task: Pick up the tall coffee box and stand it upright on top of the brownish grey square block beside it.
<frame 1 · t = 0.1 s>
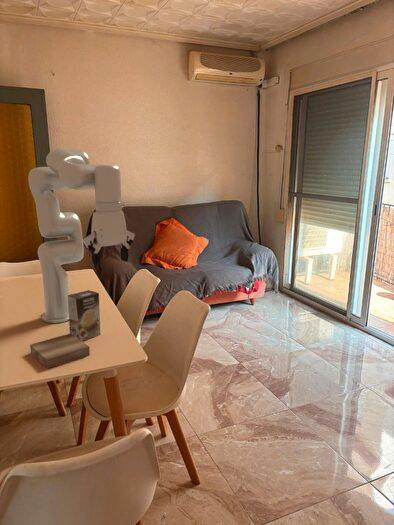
hand: (111, 263, 122), 31 cm above the table, tool pointing down, fingers open, 9 cm apart
coffee box: (85, 336, 145), on the table
brownish grey square block: (60, 354, 130), on the table
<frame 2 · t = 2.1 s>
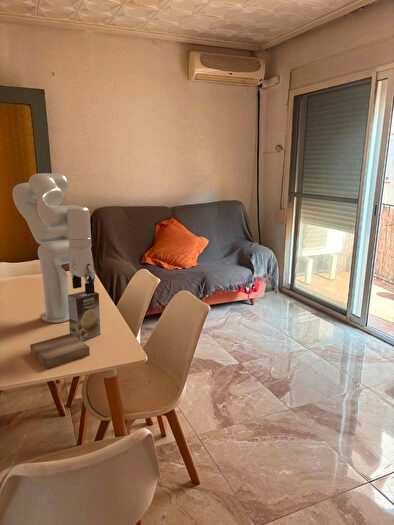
hand: (83, 290, 140), 17 cm above the table, tool pointing down, fingers open, 9 cm apart
nothing on the table moved.
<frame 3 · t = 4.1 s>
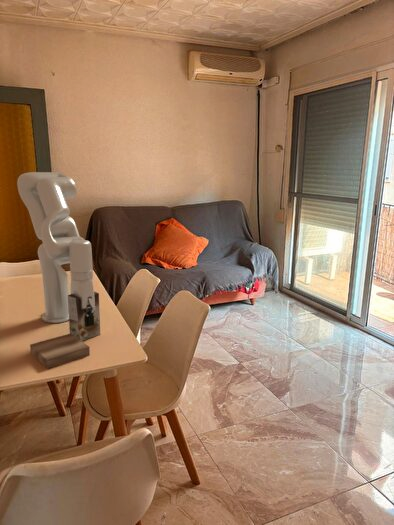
hand: (84, 322, 143), 5 cm above the table, tool pointing down, fingers closed on coffee box, 6 cm apart
coffee box: (85, 336, 145), on the table, touching gripper
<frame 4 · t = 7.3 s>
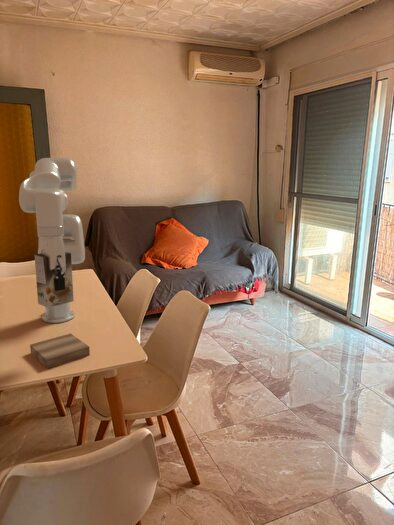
hand: (55, 286, 125), 23 cm above the table, tool pointing down, fingers closed on coffee box, 6 cm apart
coffee box: (56, 303, 126), point 18 cm above the table, touching gripper
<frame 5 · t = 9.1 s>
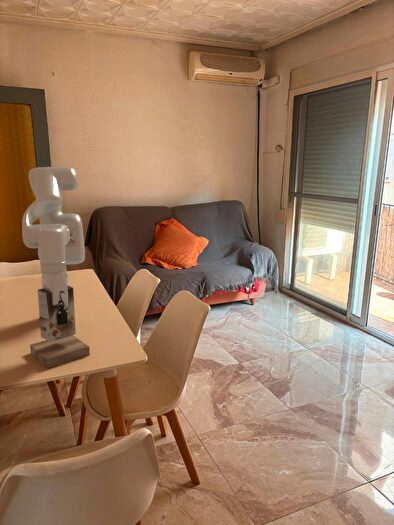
hand: (57, 320, 127), 12 cm above the table, tool pointing down, fingers closed on coffee box, 6 cm apart
coffee box: (58, 336, 129), point 6 cm above the table, touching gripper
when the fingers open (10 cm above the table, at t = 10.6 s): coffee box drops 1 cm, resting on brownish grey square block.
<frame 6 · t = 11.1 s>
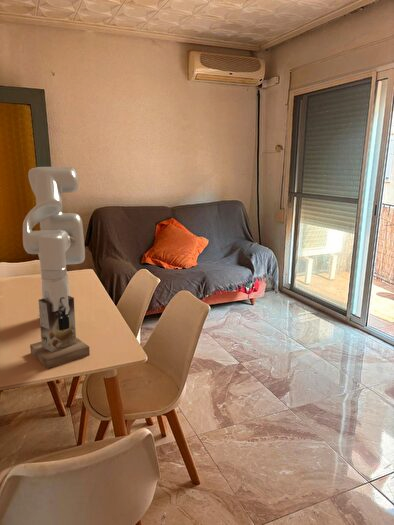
hand: (57, 324, 128), 10 cm above the table, tool pointing down, fingers open, 9 cm apart
coffee box: (59, 345, 130), point 3 cm above the table, touching brownish grey square block
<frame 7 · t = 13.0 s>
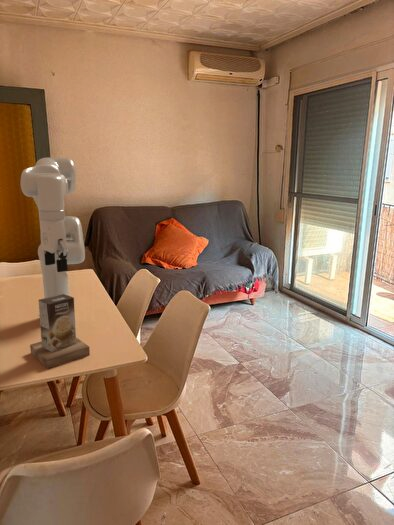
hand: (56, 267, 129), 28 cm above the table, tool pointing down, fingers open, 9 cm apart
nothing on the table moved.
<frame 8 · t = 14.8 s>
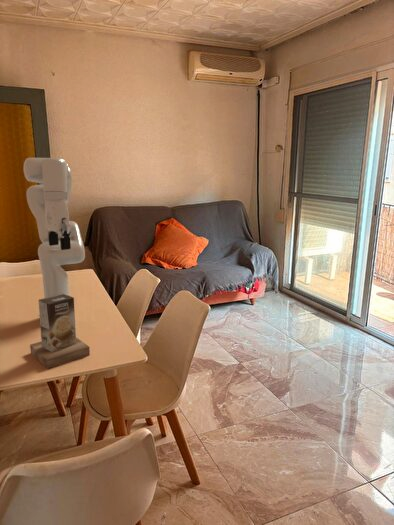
hand: (59, 247, 135), 33 cm above the table, tool pointing down, fingers open, 9 cm apart
nothing on the table moved.
at the end: coffee box inside the target area on the brownish grey square block (0.4 cm from its centre), point 2.8 cm above the brownish grey square block's base; coffee box tilted 0°; the gripper is holding nothing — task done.
